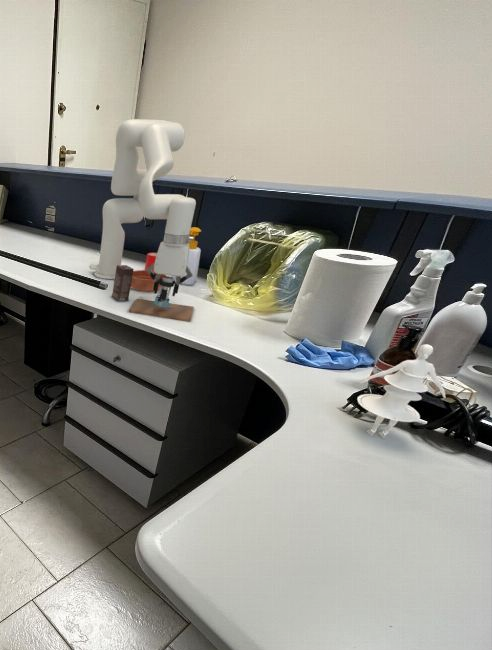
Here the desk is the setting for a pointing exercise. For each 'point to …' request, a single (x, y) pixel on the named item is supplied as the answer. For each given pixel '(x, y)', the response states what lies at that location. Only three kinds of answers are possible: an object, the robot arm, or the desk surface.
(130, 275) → the box
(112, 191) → the robot arm
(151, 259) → the mug
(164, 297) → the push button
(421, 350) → the figurine
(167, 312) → the cork mat
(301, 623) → the desk surface
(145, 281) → the bowl
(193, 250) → the soap bottle
